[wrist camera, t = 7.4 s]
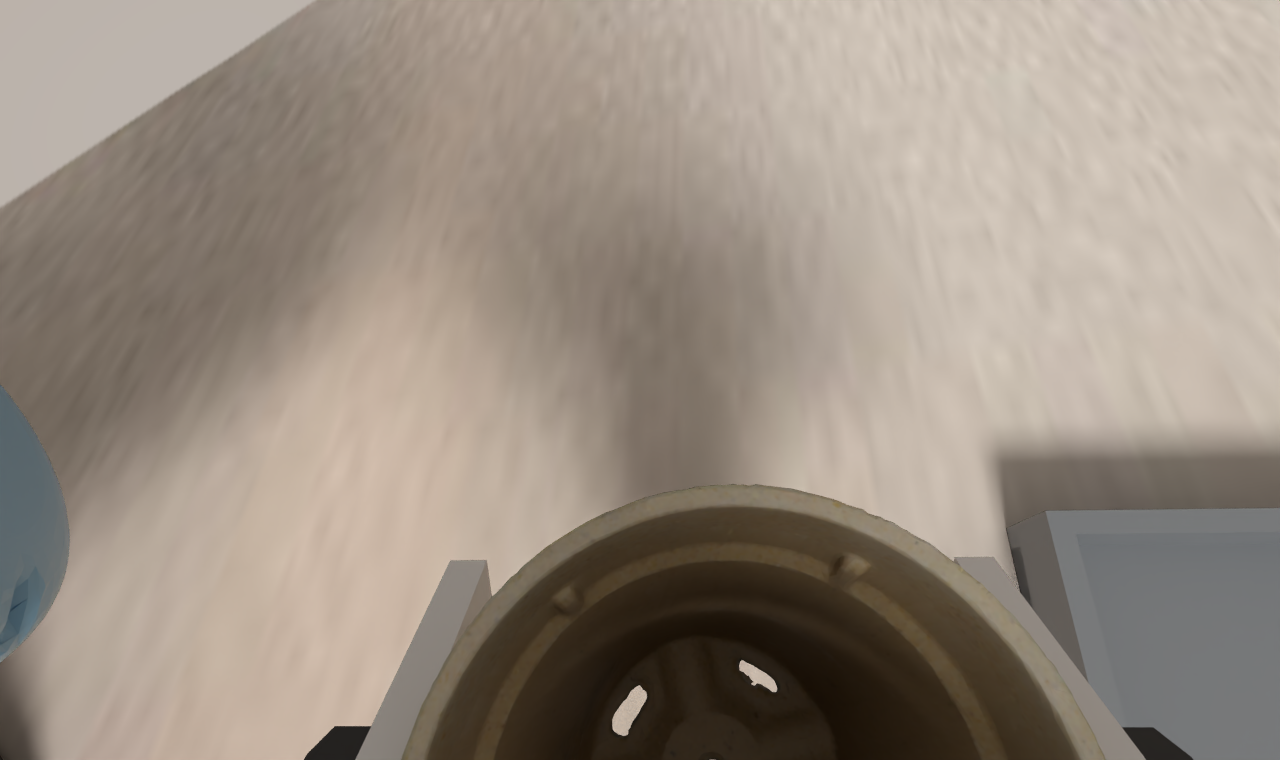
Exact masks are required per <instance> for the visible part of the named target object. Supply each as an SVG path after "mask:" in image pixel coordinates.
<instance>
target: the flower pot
mask: <svg viewBox="0 0 1280 760" xmlns="http://www.w3.org/2000/svg"><path fill="white" fill-rule="evenodd" d="M741 660H744V661H745V662H747V663H749V664H751V665H753V666H755V667H757V668H758V669H760V670H761V671H763V672H765V673H767V674H768V675H769V676H770V677H772V679H773V680H774V681H775V683H776V685H777V692H771V691H770V690H769V689H768V688H766V687H764V686H763V685H761V684H756V685H755V686H754V685H751V683H752V682H753V681H752V680H751V679H750V677H749V676H747V675H746V674H745V673H744V672H741V671H739V663H740V661H741ZM638 685H640V686H641V687H642V688H643V690H645V691H646V692H647V699H646V702H645V703H644V705H643V706H642V708H641V710H640V712H639V714H638V715H637V717H636V718H635V719H634V721H633V723H632V725H631V728H630V729H629V730H628V731H629V734H628V735H626V736H622V735H618V734H617V733H615V732H614V731H613V729H612V719H613V716H614V714H615V712H616V711H617V709H618V708H619V706H620V705H621V704H622V702H623V701H624V700H625V699H626V698H627V697H628V695H629V693H630V691H631V690H633V689H634V688H635V687H636V686H638ZM710 759H715V760H1106V759H1105V757H1104V754H1103V752H1102V750H1101V748H1100V746H1099V745H1098V743H1097V739H1096V737H1095V735H1094V733H1093V731H1092V729H1091V728H1090V726H1089V724H1088V722H1087V720H1086V718H1085V717H1084V715H1083V713H1082V711H1081V710H1080V708H1079V706H1078V705H1077V703H1076V701H1075V700H1074V698H1073V695H1072V693H1071V691H1070V690H1069V688H1068V686H1067V685H1066V683H1065V682H1064V680H1063V679H1062V677H1061V676H1060V675H1059V673H1058V671H1057V668H1056V667H1055V666H1054V664H1053V663H1052V662H1051V661H1050V660H1049V659H1048V658H1047V657H1046V655H1045V654H1044V652H1043V651H1042V650H1041V648H1040V647H1039V646H1038V644H1037V643H1036V642H1035V641H1034V639H1033V638H1032V637H1031V635H1030V634H1029V633H1028V632H1027V630H1026V629H1025V628H1024V627H1023V626H1022V625H1021V624H1020V622H1019V621H1018V620H1017V619H1016V617H1015V616H1014V615H1013V614H1012V613H1011V612H1009V611H1008V610H1007V609H1006V608H1005V607H1004V606H1003V605H1002V604H1001V603H1000V602H999V601H998V599H997V598H996V597H995V596H994V595H993V594H992V593H991V592H989V591H988V590H987V589H986V588H985V587H984V585H983V584H982V583H980V582H979V581H977V580H976V579H975V578H973V577H972V576H971V575H970V574H969V573H967V572H966V571H965V570H964V569H963V568H962V567H961V566H959V565H957V564H956V563H954V562H953V561H952V560H950V559H949V558H948V557H946V556H945V555H944V554H942V553H941V552H940V551H939V550H938V549H936V548H935V547H934V546H932V545H931V544H929V543H928V542H926V541H924V540H922V539H920V538H918V537H916V536H914V535H913V534H911V533H910V532H908V531H907V530H904V529H902V528H901V527H899V526H898V525H896V524H895V523H893V522H890V521H887V520H884V519H883V518H881V517H878V516H874V515H871V514H868V513H867V512H866V511H864V510H863V509H859V508H856V507H852V506H849V505H846V504H844V503H841V502H839V501H837V500H834V499H830V498H826V497H823V496H819V495H815V494H810V493H806V492H803V491H799V490H795V489H789V488H781V487H772V486H764V485H757V484H755V485H750V486H747V485H736V484H731V485H711V486H700V487H694V488H689V489H687V490H677V491H671V492H664V493H661V494H657V495H653V496H649V497H646V498H643V499H640V500H637V501H635V502H632V503H630V504H627V505H625V506H622V507H620V508H618V509H615V510H613V511H609V512H606V513H604V514H602V515H600V516H598V517H596V518H594V519H592V520H590V521H588V522H586V523H584V524H583V525H581V526H579V527H577V528H576V529H574V530H573V531H571V532H569V533H568V534H566V535H564V536H563V537H561V538H560V539H558V540H557V541H555V542H553V543H552V544H550V545H549V546H547V547H546V548H545V549H543V550H542V551H541V552H540V553H539V554H537V555H536V556H535V557H534V558H533V559H532V560H530V561H529V562H528V563H526V564H525V565H524V566H523V567H522V568H521V569H520V570H519V571H518V573H516V574H515V575H514V576H512V577H511V578H510V579H509V580H508V581H507V582H506V583H505V584H504V586H503V587H502V588H501V589H500V590H499V591H498V592H497V593H496V594H495V595H494V596H492V597H491V598H490V599H489V600H488V602H487V603H486V604H485V605H484V606H483V608H482V609H481V611H480V612H479V613H478V615H477V616H476V617H475V618H474V620H473V621H472V623H471V624H470V625H469V626H468V627H467V629H466V630H465V632H464V633H463V634H462V636H461V637H460V639H459V640H458V641H457V643H456V644H455V646H454V648H453V649H452V651H451V652H450V654H449V655H448V657H447V659H446V660H445V662H444V664H443V666H442V668H441V670H440V672H439V674H438V676H437V678H436V679H435V680H434V682H433V684H432V686H431V689H430V691H429V693H428V695H427V697H426V698H425V700H424V702H423V704H422V706H421V708H420V711H419V714H418V716H417V719H416V721H415V724H414V727H413V729H412V732H411V734H410V737H409V740H408V742H407V745H406V748H405V750H404V753H403V755H402V759H401V760H710Z"/></svg>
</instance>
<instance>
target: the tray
mask: <svg viewBox="0 0 1280 760" xmlns="http://www.w3.org/2000/svg"><path fill="white" fill-rule="evenodd" d="M1006 529H1007V533H1008V538H1009V542H1010V547H1011V551H1012V556H1013V560H1014V564H1015V569H1016V573H1017V578H1018V582H1019V587H1020V591H1021V594H1022V595H1023V597H1024V598H1025V599H1026V601H1027V602H1028V603H1029V605H1030V606H1031V607H1032V609H1033V610H1034V611H1035V613H1036V614H1037V615H1038V617H1039V618H1040V619H1041V621H1042V622H1043V623H1044V625H1045V626H1046V627H1047V629H1048V630H1049V631H1050V633H1051V634H1052V635H1053V637H1054V638H1055V639H1056V641H1057V642H1058V643H1059V645H1060V646H1061V647H1062V649H1063V650H1064V651H1065V653H1066V654H1067V655H1068V657H1069V658H1070V659H1071V661H1072V662H1073V663H1074V665H1075V666H1076V667H1077V669H1078V670H1079V671H1080V673H1081V674H1082V675H1083V676H1084V678H1085V679H1086V680H1087V682H1088V683H1089V684H1090V686H1091V687H1092V688H1093V690H1094V691H1095V692H1096V694H1097V695H1098V696H1099V698H1100V699H1101V700H1102V702H1103V703H1104V704H1105V706H1106V707H1107V708H1108V710H1109V711H1110V712H1111V714H1112V715H1113V716H1114V718H1115V719H1116V720H1117V722H1118V723H1119V724H1120V726H1121V727H1154V728H1155V729H1156V730H1157V731H1159V732H1160V733H1161V734H1163V735H1164V736H1165V737H1166V738H1168V739H1169V740H1170V741H1172V742H1173V743H1174V744H1175V745H1177V746H1178V747H1179V748H1181V749H1182V750H1183V751H1184V752H1186V753H1187V754H1188V755H1190V756H1191V757H1192V758H1193V760H1280V508H1234V509H1148V510H1061V511H1044V512H1041V513H1039V514H1037V515H1035V516H1033V517H1030V518H1028V519H1026V520H1024V521H1021V522H1019V523H1017V524H1015V525H1013V526H1010V527H1008V528H1006Z"/></svg>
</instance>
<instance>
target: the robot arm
mask: <svg viewBox="0 0 1280 760" xmlns="http://www.w3.org/2000/svg"><path fill="white" fill-rule="evenodd" d="M69 543H70V536H69V524H68V518H67V511H66V505H65V501H64V497H63V494H62V490H61V487H60V484H59V481H58V479H57V477H56V474H55V472H54V470H53V467H52V465H51V462H50V460H49V458H48V456H47V454H46V452H45V450H44V448H43V446H42V445H41V443H40V441H39V439H38V437H37V435H36V434H35V432H34V430H33V429H32V427H31V425H30V424H29V422H28V421H27V419H26V418H25V416H24V415H23V413H22V412H21V411H20V409H19V408H18V407H17V405H16V404H15V402H14V401H13V399H12V398H11V396H10V395H9V394H8V393H7V392H6V390H5V389H4V388H3V387H2V386H1V385H0V662H2V661H3V660H4V659H5V658H6V657H8V656H9V655H10V654H11V653H12V652H13V651H14V650H15V649H16V648H17V647H18V646H20V645H21V644H22V643H23V642H24V641H25V640H26V639H27V638H28V637H29V635H30V634H31V633H32V632H33V631H34V629H35V628H36V627H37V626H38V625H39V623H40V622H41V621H42V620H43V619H44V617H45V616H46V614H47V613H48V611H49V609H50V607H51V606H52V604H53V602H54V600H55V598H56V596H57V594H58V592H59V590H60V587H61V584H62V582H63V579H64V576H65V572H66V568H67V563H68V557H69ZM954 563H956V564H957V565H959V566H961V567H962V568H963V569H964V570H965V571H966V572H967V573H969V574H970V575H971V576H972V577H973V578H975V579H976V580H977V581H979V582H980V583H982V584H983V585H984V587H985V588H986V589H987V590H988V591H989V592H991V593H992V594H993V595H994V596H995V597H996V598H997V599H998V601H999V602H1000V603H1001V604H1002V605H1003V606H1004V607H1005V608H1006V609H1007V610H1008V611H1009V612H1011V613H1012V614H1013V615H1014V616H1015V617H1016V619H1017V620H1018V621H1019V622H1020V624H1021V625H1022V626H1023V627H1024V628H1025V629H1026V630H1027V632H1028V633H1029V634H1030V635H1031V637H1032V638H1033V639H1034V641H1035V642H1036V643H1037V644H1038V646H1039V647H1040V648H1041V650H1042V651H1043V652H1044V654H1045V655H1046V657H1047V658H1048V659H1049V660H1050V661H1051V662H1052V663H1053V664H1054V666H1055V667H1056V668H1057V671H1058V673H1059V675H1060V676H1061V677H1062V679H1063V680H1064V682H1065V683H1066V685H1067V686H1068V688H1069V690H1070V691H1071V693H1072V695H1073V698H1074V700H1075V701H1076V703H1077V705H1078V706H1079V708H1080V710H1081V711H1082V713H1083V715H1084V717H1085V718H1086V720H1087V722H1088V724H1089V726H1090V728H1091V729H1092V731H1093V733H1094V735H1095V737H1096V739H1097V743H1098V745H1099V746H1100V748H1101V750H1102V752H1103V754H1104V757H1105V759H1106V760H1193V758H1192V757H1191V756H1190V755H1188V754H1187V753H1186V752H1184V751H1183V750H1182V749H1181V748H1179V747H1178V746H1177V745H1175V744H1174V743H1173V742H1172V741H1170V740H1169V739H1168V738H1166V737H1165V736H1164V735H1163V734H1161V733H1160V732H1159V731H1157V730H1156V729H1155V728H1154V727H1121V726H1120V724H1119V723H1118V722H1117V720H1116V719H1115V718H1114V716H1113V715H1112V714H1111V712H1110V711H1109V710H1108V708H1107V707H1106V706H1105V704H1104V703H1103V702H1102V700H1101V699H1100V698H1099V696H1098V695H1097V694H1096V692H1095V691H1094V690H1093V688H1092V687H1091V686H1090V684H1089V683H1088V682H1087V680H1086V679H1085V678H1084V676H1083V675H1082V674H1081V673H1080V671H1079V670H1078V669H1077V667H1076V666H1075V665H1074V663H1073V662H1072V661H1071V659H1070V658H1069V657H1068V655H1067V654H1066V653H1065V651H1064V650H1063V649H1062V647H1061V646H1060V645H1059V643H1058V642H1057V641H1056V639H1055V638H1054V637H1053V635H1052V634H1051V633H1050V631H1049V630H1048V629H1047V627H1046V626H1045V625H1044V623H1043V622H1042V621H1041V619H1040V618H1039V617H1038V615H1037V614H1036V613H1035V611H1034V610H1033V609H1032V607H1031V606H1030V605H1029V603H1028V602H1027V601H1026V599H1025V598H1024V597H1023V595H1022V594H1021V593H1020V591H1019V590H1018V589H1017V588H1016V586H1015V585H1014V584H1013V582H1012V581H1011V580H1010V578H1009V577H1008V576H1007V574H1006V573H1005V572H1004V570H1003V569H1002V568H1001V566H1000V565H999V564H998V562H997V561H996V560H995V558H994V557H955V559H954ZM491 597H492V594H491V587H490V580H489V573H488V566H487V560H461V561H450V562H449V564H448V567H447V569H446V571H445V573H444V575H443V577H442V579H441V581H440V583H439V585H438V588H437V590H436V592H435V594H434V596H433V598H432V600H431V602H430V604H429V606H428V608H427V611H426V613H425V615H424V617H423V619H422V621H421V623H420V625H419V627H418V629H417V632H416V634H415V636H414V638H413V640H412V642H411V644H410V646H409V648H408V650H407V652H406V655H405V657H404V659H403V661H402V663H401V665H400V667H399V669H398V671H397V673H396V676H395V678H394V680H393V682H392V684H391V686H390V688H389V690H388V692H387V694H386V696H385V699H384V701H383V703H382V705H381V707H380V709H379V711H378V713H377V715H376V717H375V720H374V722H373V724H372V726H335V727H334V728H333V729H332V730H331V731H330V732H329V733H328V734H327V735H326V736H325V737H324V738H323V739H322V740H321V741H320V742H319V743H318V744H317V745H316V746H315V747H314V748H313V749H312V750H311V751H310V752H309V753H308V754H307V755H306V757H305V759H304V760H401V759H402V755H403V753H404V750H405V748H406V745H407V742H408V740H409V737H410V734H411V732H412V729H413V727H414V724H415V721H416V719H417V716H418V714H419V711H420V708H421V706H422V704H423V702H424V700H425V698H426V697H427V695H428V693H429V691H430V689H431V686H432V684H433V682H434V680H435V679H436V678H437V676H438V674H439V672H440V670H441V668H442V666H443V664H444V662H445V660H446V659H447V657H448V655H449V654H450V652H451V651H452V649H453V648H454V646H455V644H456V643H457V641H458V640H459V639H460V637H461V636H462V634H463V633H464V632H465V630H466V629H467V627H468V626H469V625H470V624H471V623H472V621H473V620H474V618H475V617H476V616H477V615H478V613H479V612H480V611H481V609H482V608H483V606H484V605H485V604H486V603H487V602H488V600H489V599H490V598H491ZM0 760H3V759H2V758H1V756H0Z"/></svg>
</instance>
